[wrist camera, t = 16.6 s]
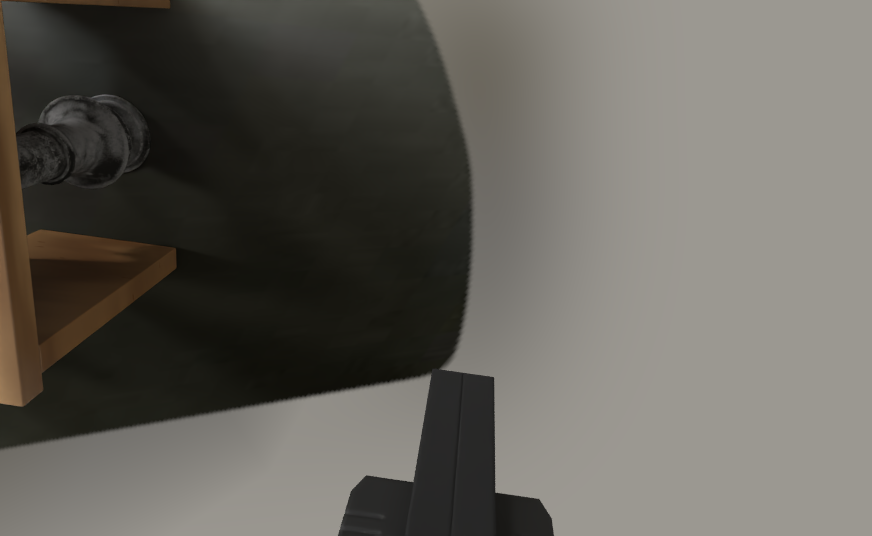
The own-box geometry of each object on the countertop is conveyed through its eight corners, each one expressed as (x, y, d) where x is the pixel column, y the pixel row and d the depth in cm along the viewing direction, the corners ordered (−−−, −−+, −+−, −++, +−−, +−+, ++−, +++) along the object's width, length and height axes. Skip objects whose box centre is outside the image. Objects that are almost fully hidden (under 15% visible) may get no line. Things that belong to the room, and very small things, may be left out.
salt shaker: (70, 80, 44) (-75, 100, 33) (157, 100, 44) (42, 126, 33) (69, 166, 46) (-67, 213, 35) (152, 185, 46) (43, 237, 35)
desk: (169, -37, 41) (-36, -75, 25) (177, 281, 48) (23, 407, 32) (11, -56, 41) (-290, -106, 25) (43, 262, 49) (-174, 378, 33)
